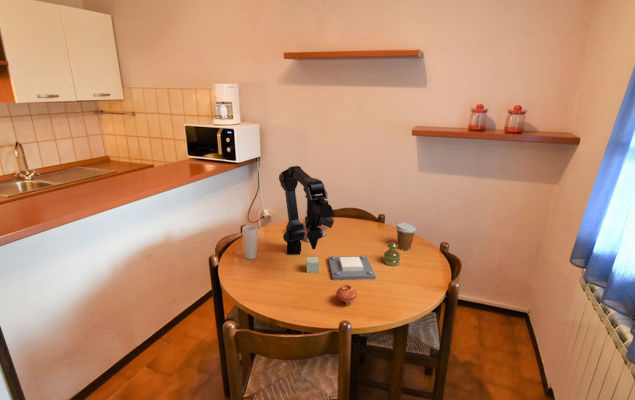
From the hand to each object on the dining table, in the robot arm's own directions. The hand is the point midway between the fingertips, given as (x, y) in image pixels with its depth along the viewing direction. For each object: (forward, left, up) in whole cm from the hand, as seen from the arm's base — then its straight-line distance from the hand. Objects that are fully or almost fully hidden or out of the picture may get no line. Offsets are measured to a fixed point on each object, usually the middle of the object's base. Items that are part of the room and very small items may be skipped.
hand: (313, 244), depth 149 cm
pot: (+11, -24, -12) cm, 29 cm away
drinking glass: (-28, +13, -12) cm, 33 cm away
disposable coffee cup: (+48, +20, -12) cm, 53 cm away
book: (0, +38, -13) cm, 41 cm away
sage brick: (0, 0, -12) cm, 12 cm away
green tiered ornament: (+37, +5, -12) cm, 39 cm away
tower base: (+17, 0, -12) cm, 21 cm away
